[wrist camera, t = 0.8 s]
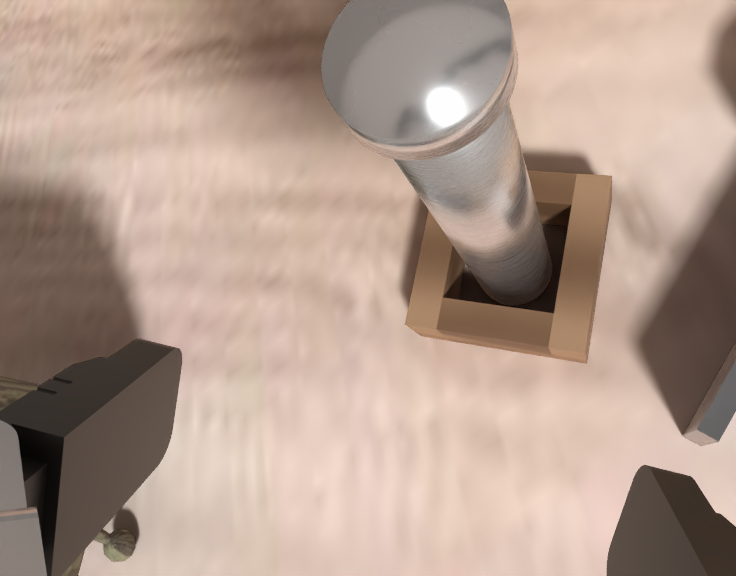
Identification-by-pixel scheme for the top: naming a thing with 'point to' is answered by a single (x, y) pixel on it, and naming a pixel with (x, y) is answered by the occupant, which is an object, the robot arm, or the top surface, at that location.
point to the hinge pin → (446, 125)
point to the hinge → (715, 406)
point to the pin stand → (514, 325)
